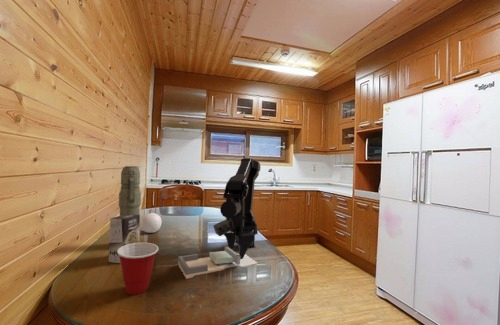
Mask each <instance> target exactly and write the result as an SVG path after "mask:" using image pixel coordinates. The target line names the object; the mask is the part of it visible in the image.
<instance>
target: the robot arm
mask: <svg viewBox="0 0 500 325" xmlns="http://www.w3.org/2000/svg"><path fill="white" fill-rule="evenodd" d="M260 172H261V163H260V161H257V160H254V159H253V158H252V157H251V158H249V157H247V158H246V157H245V158H241V160H240V165H239V166H238V169H237V171H236V173H235V175H233V176H231V177H229V179H228V180H227V182H226V185H225V188H224V192H223V197H222V198H223V199H225V201H224V202H223V203H222V204H221V206H220V208H219V209H220V214H221V215H222V217H224V218H225V219H224V220H222V221H219V222H218V223H215V224H214V225H213V229H214V232H215V234H216V235H217V236H219V237H222V236H224V237H225V239H226V242H227V246H228V247H229V248H230V249H232V250H233V251H234V246H235V243H236V244H237V247H238V254H239V255H240V256H241V257H240V259H243V257H244V255H245V254H246V253H247V251H248V249H253V248H256V246H255V241H256V235H258V225H257V221H256V217H255V215H254V212H253V204H254V192H255V182H256V180H257V178H258V177H259V175H260Z"/></svg>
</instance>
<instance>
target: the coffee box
mask: <svg viewBox="0 0 500 325" xmlns="http://www.w3.org/2000/svg"><path fill="white" fill-rule="evenodd" d="M140 218H141V215H140V214H139V215H135V214H126V215H122V216H120V215H119V216H114V217H110V218H109V244H108V245H109V247H108V262H109V263H114V264H115V263H116V264H121V262H120V257H119V255H118V253H117V251H118V249H119V248H120V247H122V246H125V245H127V244H132V243H139V242H140V239H139V228H141V220H140Z"/></svg>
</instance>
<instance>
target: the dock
mask: <svg viewBox="0 0 500 325" xmlns="http://www.w3.org/2000/svg"><path fill="white" fill-rule="evenodd" d="M237 254H238V255H239V253H237ZM177 261H178V262H177V265H179V266H178V268H179V269H180V271H181V272H183V273H182V274H183V276H184V277H185V279H186V280H187V279H192V278H196V277H195V276H199V275H205V274H208V273H209V274H210V273H214V272H221V271H224V270H225V269H228V268H234V267H245V266H250V265H255V264H258V262H257V261H256V260H254V259H253V258H252V257H250V256H248V255H247V254H246V253H245V255H244V257H243V259H240V264H238V265H237V264H236V263H235V262H233V263H232V264H229V263H221V264H219V265H216V264H215V263H214V262H213V261H212V260H211V259H210V258H209V256H205V257H199V254H198V253H194V254H187V255H179V256H178V260H177Z"/></svg>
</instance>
